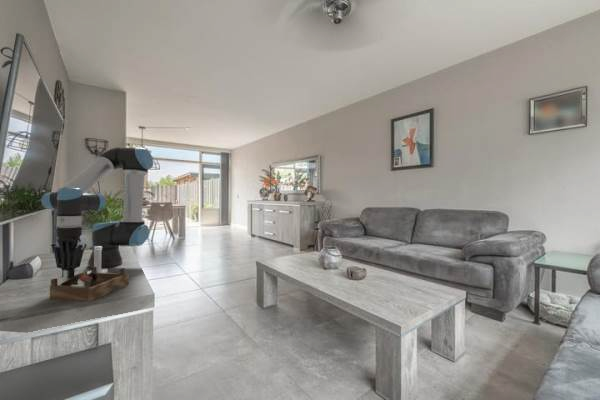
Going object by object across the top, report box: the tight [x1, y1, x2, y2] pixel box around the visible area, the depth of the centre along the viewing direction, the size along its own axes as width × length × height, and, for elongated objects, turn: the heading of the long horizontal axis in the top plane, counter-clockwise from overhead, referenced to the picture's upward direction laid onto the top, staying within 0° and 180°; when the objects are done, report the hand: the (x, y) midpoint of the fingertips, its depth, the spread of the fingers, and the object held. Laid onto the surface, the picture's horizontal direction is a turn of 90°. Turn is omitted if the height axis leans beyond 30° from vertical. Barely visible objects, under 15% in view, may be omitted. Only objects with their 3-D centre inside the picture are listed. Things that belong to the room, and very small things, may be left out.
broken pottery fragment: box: [60, 272, 97, 287], centre depth 102 cm, size 12×10×8 cm
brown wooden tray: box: [49, 267, 129, 302], centre depth 103 cm, size 18×16×7 cm
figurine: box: [86, 246, 109, 275], centre depth 116 cm, size 7×9×15 cm
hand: (68, 285), depth 103 cm, fingers closed
